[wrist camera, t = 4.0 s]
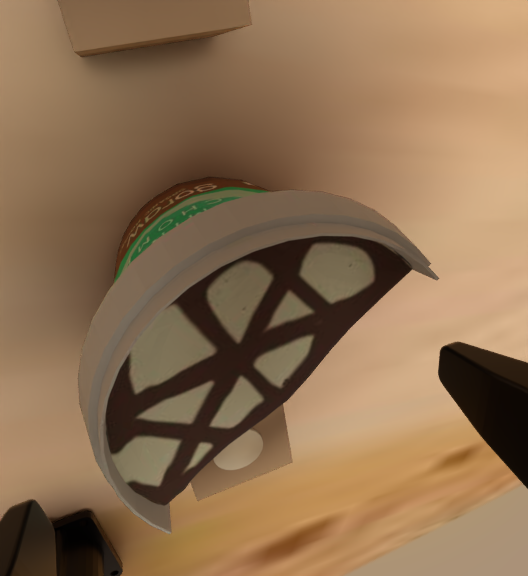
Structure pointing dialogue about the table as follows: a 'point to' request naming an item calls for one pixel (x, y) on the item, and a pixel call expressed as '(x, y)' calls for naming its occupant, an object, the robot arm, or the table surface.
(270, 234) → the food container
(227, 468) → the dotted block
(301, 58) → the table surface
